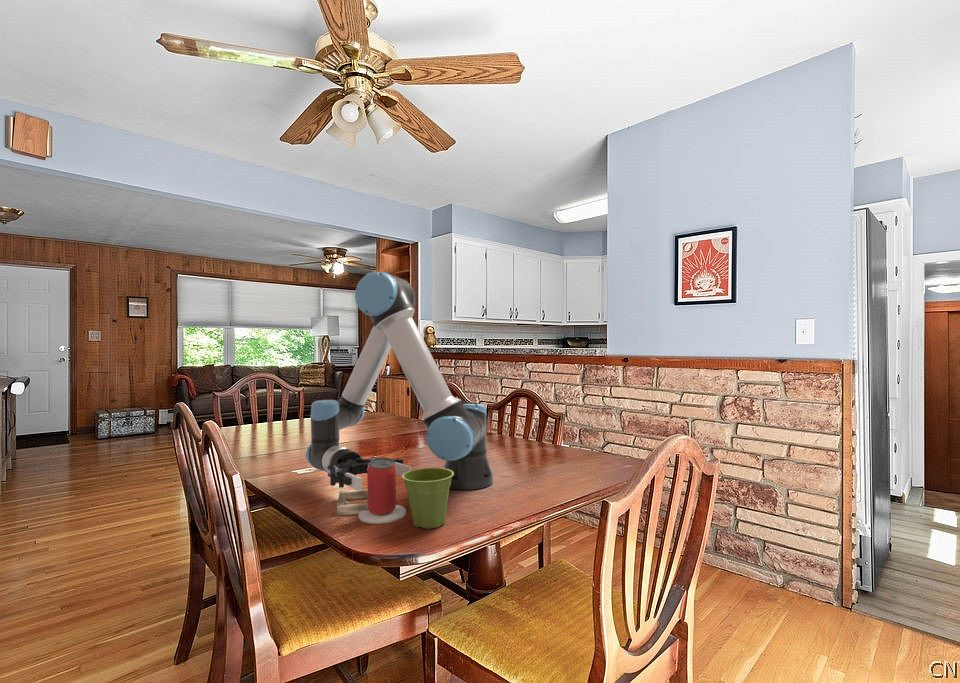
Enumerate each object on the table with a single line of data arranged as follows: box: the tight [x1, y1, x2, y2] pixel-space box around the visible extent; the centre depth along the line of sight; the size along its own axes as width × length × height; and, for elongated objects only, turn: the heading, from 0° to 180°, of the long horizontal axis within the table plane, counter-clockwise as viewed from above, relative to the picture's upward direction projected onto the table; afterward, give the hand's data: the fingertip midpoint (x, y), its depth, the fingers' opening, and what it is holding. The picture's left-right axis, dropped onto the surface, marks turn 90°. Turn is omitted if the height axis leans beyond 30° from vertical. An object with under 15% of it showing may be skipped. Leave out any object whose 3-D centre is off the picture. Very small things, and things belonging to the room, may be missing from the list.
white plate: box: [358, 504, 407, 525], centre depth 117 cm, size 11×11×1 cm
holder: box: [336, 488, 368, 517], centre depth 125 cm, size 13×13×2 cm
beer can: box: [366, 456, 397, 515], centre depth 116 cm, size 7×7×12 cm
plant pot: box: [401, 467, 454, 530], centre depth 111 cm, size 12×12×11 cm
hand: (386, 478), depth 115 cm, fingers open, 13 cm apart
